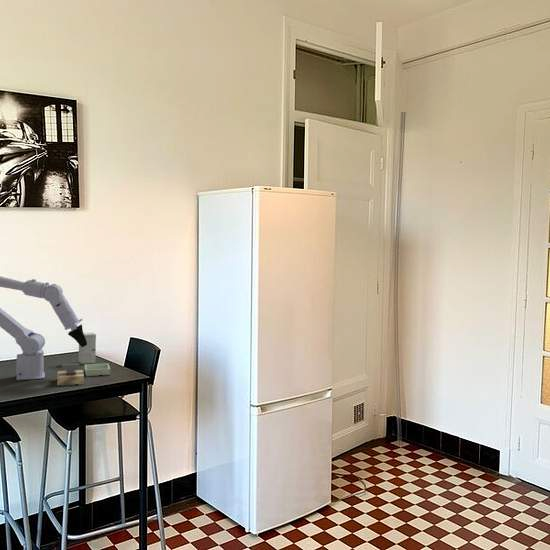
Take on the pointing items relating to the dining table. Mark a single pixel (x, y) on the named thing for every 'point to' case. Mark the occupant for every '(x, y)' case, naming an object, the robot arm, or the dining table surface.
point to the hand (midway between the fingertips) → (84, 345)
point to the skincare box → (88, 349)
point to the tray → (97, 369)
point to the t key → (70, 368)
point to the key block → (70, 378)
